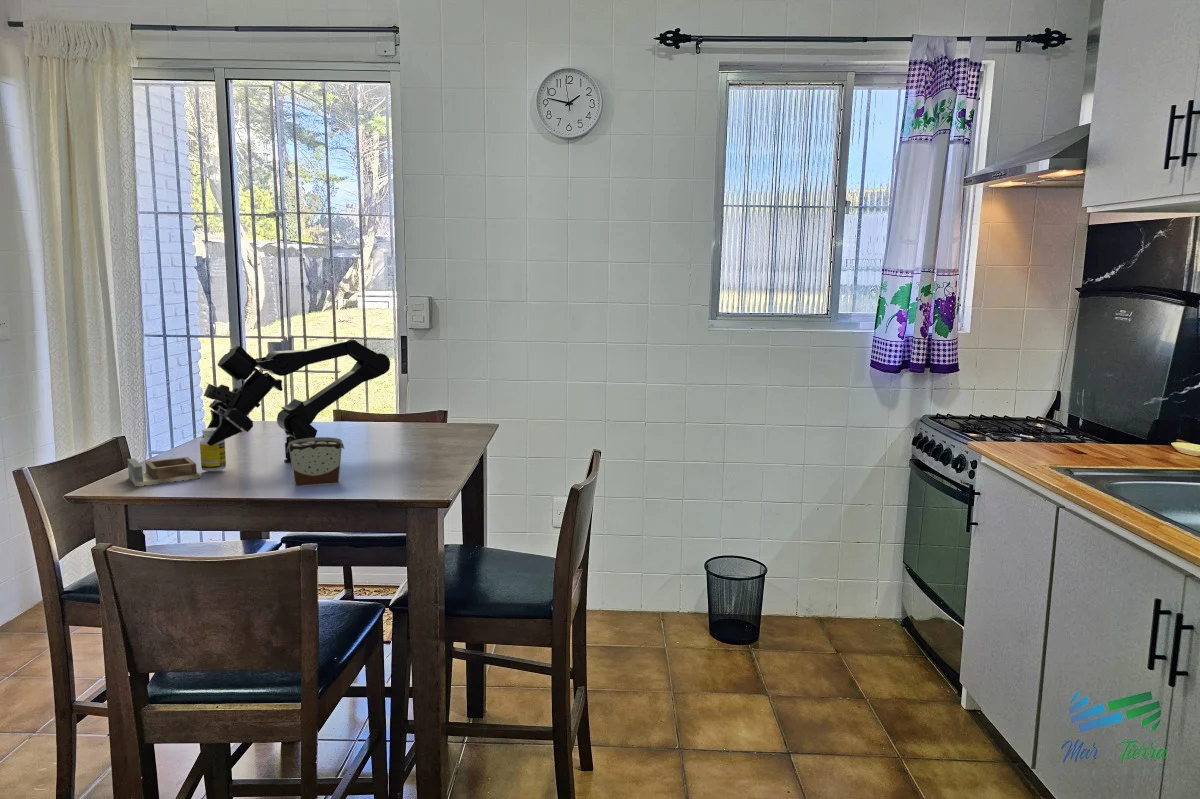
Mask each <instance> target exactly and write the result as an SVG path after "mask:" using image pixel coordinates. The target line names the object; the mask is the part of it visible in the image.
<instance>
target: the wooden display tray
mask: <svg viewBox="0 0 1200 799" xmlns="http://www.w3.org/2000/svg"><path fill="white" fill-rule="evenodd" d="M144 462H145V471H143V466H142V465H141V463H140V462H139V461H138V460H137V459H136V458H127V470H128V472H127V473H128V479H129V480H130V481H131V483H132V482H133V483H134V484H133V483H132V484H133V485H134V486H135V487H136V486H139V487H144V485H147V486H153V485H152V484H154V485H159V483H162V484H168V483H167V482H169V483H175V482H174V481H177V482H183V481H182V480H184V481H189V479H192V480H198V479H197V478H199V479H200V478H201V477H200V473H199V472H197V463H196V462H195V461H194V460H193V459H191V457H189V456H184V457H183V456H181V457H174V458H166V459H159V460H158V459H156V460H148V461H144Z"/></svg>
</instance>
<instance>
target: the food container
mask: <svg viewBox="0 0 1200 799" xmlns="http://www.w3.org/2000/svg"><path fill="white" fill-rule="evenodd" d="M342 449H343V450H345V446H344V443H343V440H342V439H340V438H337V437H327V436H326V437H325V436H324V437H323V436H322V437H321V436H318V437H317V436H316V437H315V438H304V439H298V440H294V441H291V442H290V443H289V445H288V447H287V452H288V451H289V452H290V458H291V462H290V463H291V469H292V475H293V476H292V477H293V482H294V487H295V488H300V486H302V487H312V486H313V485H314V486H323V485H324V486H326V485H325V484H327V485H339V484H340V477H341V476H340V475H341V473H340V472H341V462H342V459H341V458H342ZM335 483H337V484H335ZM338 483H339V484H338Z"/></svg>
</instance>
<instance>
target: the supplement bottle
mask: <svg viewBox="0 0 1200 799" xmlns="http://www.w3.org/2000/svg"><path fill="white" fill-rule="evenodd" d="M215 430H216V428H207V427H206V428H202V430H201V431H202V432H201V433H202V437H203V436H204V438H202V437H201V438H200V440H199V451H200V452H199V453H200V467H201V468H200V469H201V470H202V471H205V472H212V471H213V472H215V471H221V470H224V469H226V467H227V460H226V459H227V458H226V442H225V440H226V439H224V440H222V441H220V442H218V443H216V444H214V445H212V446H210V445H208V444H207V442H208V440H209V439H210V437H211V436H212V434H213V433H214V431H215Z"/></svg>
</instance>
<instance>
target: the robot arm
mask: <svg viewBox="0 0 1200 799" xmlns="http://www.w3.org/2000/svg"><path fill="white" fill-rule="evenodd" d="M344 356H349V357H350V358H352V359H353V360H354V361H356V362H355V363H354V365H353V367H352V368H351V369H350V370H349V371H348V372H346V373H345V374H343V375H342V376H340V377H339V378H337V379H335V380H334V381H333V382H331V383H330V384H328V385H327V386H325V387H323V389H321V390H320V391H318V392H316V393H315V394H314V395H312V396H311V397H309V398H308V399H306V400H304V401H302V400H299V399H296V398H294V399H293V400H291V401H290V402H289V403H288V404H287V405H284V406H281V410H280V411H279V412H278V414H277V418H276V423H277V426H278V427H279V428H280V429H282V430H284V432H285V435H287V437H286V439H285V440H286V442H284V449H285V450H284V451H285V452H284V454H285V455H284V456H285V459H284V460H283V462H284V463H291V458H290V452H289V451H288V452H287V447H288V445H289V443H290V442H291V441H294V440H298V439H304V438H315V437H317V433H318V430H317V429H316V428H315V426H313V425H311V424H312V423H313V422H314V420H315V418H316V417H317V416H318V415H319V414H320V412H322V411H324V410H325V409H326V408H328V407H329V406H331V405H332V404H334V403H335V402H336V401H338V400H339V399H341V398H342V397H344V396H345V395H346V394H348V393H349V392H351V391H353V390H354V389H355V388H357V387H359V385H361V384H363V383H365V382H367V381H370V380H374V379H377V378H378V377H381V376H383V375H385V374H386V373H388V372H389V370H390V368H391V361H390V358H389V356H387V355H386V354H385V353H382V352H381V353H380V352H375V351H373V350H372V349H370V348H368V347H367V346H365V345H363V344H361V343H360V342H358V341H357V340H356V339H353V338H344V339H341V340H338V341H334V342H330V343H326V344H321V345H318V346H313V347H308V348H304V349H299V350H294V349H293V350H274V351H271V352H268V353H267V354H266V356H263V357H259V358H258V357H256V358H255V357H252V355H250V354H249V353H248V352H247V351H246V350H245V349H244V348H243V347H242V346H240V345H236V346H235V348H233V349H231V350H230V351H229V352H227V353H225V354H223V355H222V357H221V358H220V359H219V361H218V363H217V366H218V367H219V368H220V369H222V371H224V372H225V373H226V374H227V375H229V377H231V378H233V379H234V380H235V381H240V380H242V381H244V382H243V383H242V384H241V386H240V387H239V388H238V387H234V388H233V389H232V390H230V386H228V385H225V384H222V383H221V384H220V385H214V384H211V383H208V384H207V387H206V389H205V391H204V393H203V396H204V397H206V398H208V399H211V400H213V401H212V402H211V403H210V404H209V406H208V407H209V408H211V409H210V411H209V412H210V415H211V416H210V417H211V419H210V422H209V424H208V425H207V427H206V428H216V430H215V431H214V433H213V434H212V436H211V437H210V439H209V440H208V442H207V444H208V445H210V446H212V445H214V444H216V443H218V442H220V441H222V440H226V439H228V438H231V437H233V436H235V435H237V434H240V433H243V430H244V432H246V433H249V431H251V429H252V428H253V427H254V421H253V420H252V419H251V418H249V415H250V413H251V412H253V410H254V409H255V408H257V409H258V408H260V406H261V404H260V403H261V401H262V400H263V399H264V398H265V397H266V396H267V395H268V394H269V393H270V391H271V390H273V388H274V389H275V390H277V391H279V392H282V391H283V390H284V389H283V380H282V379H280V378H278V379H276V378H274V376H272V375H276V376H279V377H285V376H288V375H290V374H292V373H295V372H297V371H299V370H300V369H302V368H304V367H306V366H308V365H313V364H317V363H320V362H325V361H329V360H333V359H336V358H340V357H344ZM259 369H261V370H265V371H267V372H264V373H262V372H261V371H260V370H259ZM271 374H272V375H271ZM241 429H242V430H241ZM202 438H204V436H203V435H202V437H201V439H202Z"/></svg>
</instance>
